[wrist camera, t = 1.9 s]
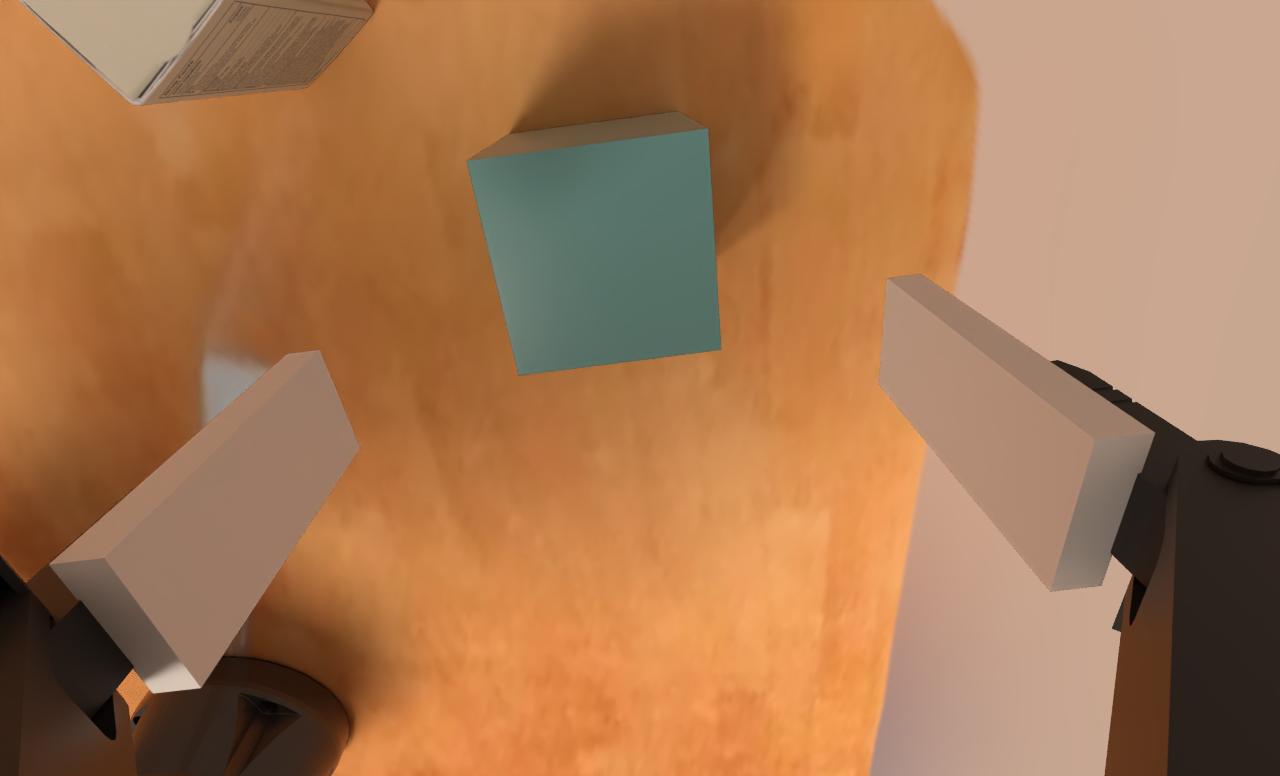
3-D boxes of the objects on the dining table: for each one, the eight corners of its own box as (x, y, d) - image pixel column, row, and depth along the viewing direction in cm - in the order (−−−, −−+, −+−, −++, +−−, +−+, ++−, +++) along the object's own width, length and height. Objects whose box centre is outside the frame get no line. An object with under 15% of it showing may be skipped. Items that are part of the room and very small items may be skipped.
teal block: (542, 295, 32) (518, 375, 24) (508, 133, 29) (466, 160, 20) (692, 276, 32) (721, 349, 24) (678, 111, 28) (708, 128, 20)
